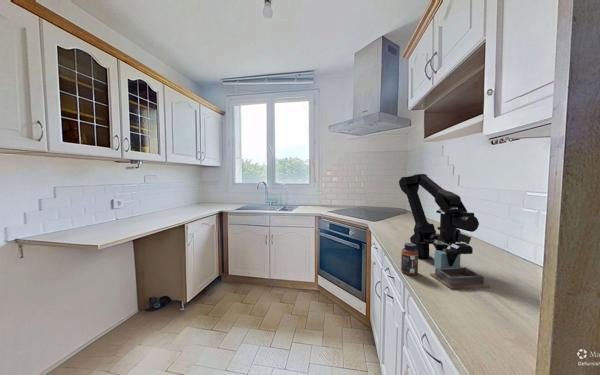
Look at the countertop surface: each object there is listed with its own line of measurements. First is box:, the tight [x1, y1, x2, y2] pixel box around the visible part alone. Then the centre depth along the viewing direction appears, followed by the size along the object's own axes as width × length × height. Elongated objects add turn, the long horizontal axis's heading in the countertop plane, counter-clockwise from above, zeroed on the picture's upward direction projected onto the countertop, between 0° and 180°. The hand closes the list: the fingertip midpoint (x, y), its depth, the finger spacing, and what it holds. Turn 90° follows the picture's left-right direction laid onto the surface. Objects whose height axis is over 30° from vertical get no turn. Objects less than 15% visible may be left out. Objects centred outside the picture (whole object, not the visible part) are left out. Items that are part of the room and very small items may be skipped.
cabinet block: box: [433, 249, 462, 269], centre depth 95 cm, size 4×8×8 cm, turn 95°
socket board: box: [429, 267, 491, 290], centre depth 84 cm, size 11×14×3 cm
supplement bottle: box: [400, 242, 419, 276], centre depth 91 cm, size 6×6×11 cm
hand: (447, 263), depth 95 cm, fingers closed on cabinet block, 4 cm apart
